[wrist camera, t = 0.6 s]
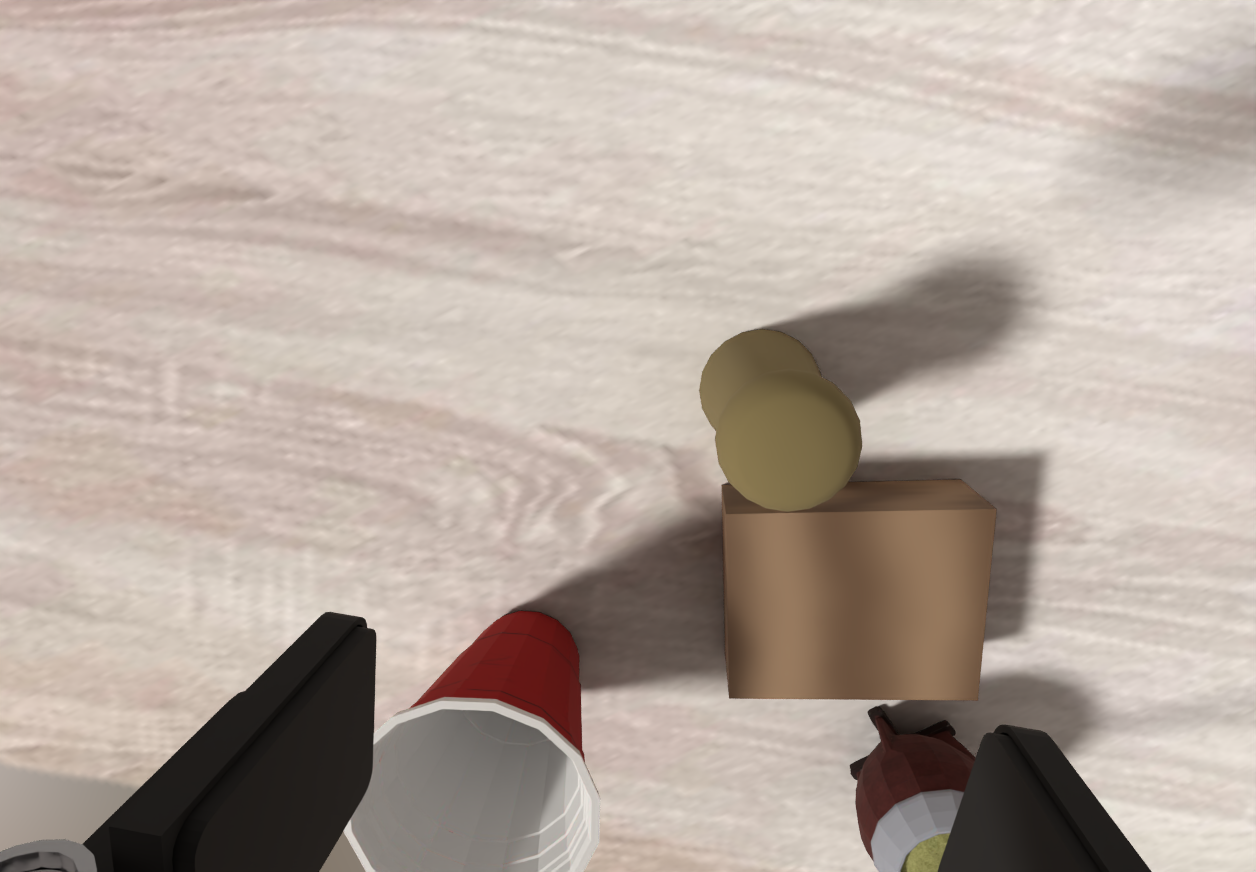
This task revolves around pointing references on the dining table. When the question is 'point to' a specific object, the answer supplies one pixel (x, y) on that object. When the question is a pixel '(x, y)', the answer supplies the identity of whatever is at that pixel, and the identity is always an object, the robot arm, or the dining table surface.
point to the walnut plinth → (858, 593)
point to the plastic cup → (486, 764)
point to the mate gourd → (910, 794)
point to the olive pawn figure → (779, 422)
